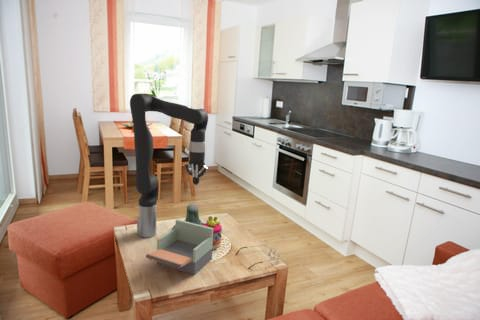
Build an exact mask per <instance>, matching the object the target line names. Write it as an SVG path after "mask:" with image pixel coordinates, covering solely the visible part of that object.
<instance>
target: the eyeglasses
mask: <svg viewBox="0 0 480 320" xmlns="http://www.w3.org/2000/svg"><path fill="white" fill-rule="evenodd" d="M267 244H269V246H270V249H269V252H268V250H267ZM262 246H264V247H265V251H266V252H268V253H269V254H270V253H272V255H273V257H274V258H273V259H269V260H268V259H267V260H264V261H259V262H255V263H254V264H252V265H251V266H249V267H247V269H251V268H252V267H254V266H255V265H257V264H262V263H265V262H270V261H274V260H277V261H278V260H279V259H281V256H280V255H281V254H280V251H279V250H278V249H276V248H274V247H273V246H272V245H271V243H269V242H268V243H266V244H259V245H252V246H250V248H253V247H262ZM247 248H248V246H243V247H240V248H239V249H238V250H237V252H236V253H235V256H237V255H238V254H239V252H240V251H241V250H242V249H247ZM273 249H274V251H273ZM272 251H273V252H272ZM276 251H277V252H278V257H276ZM275 258H276V259H275Z"/></svg>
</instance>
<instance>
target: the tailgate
mask: <svg viewBox="0 0 480 320" xmlns="http://www.w3.org/2000/svg"><path fill="white" fill-rule="evenodd" d="M145 258H146V259H148V260H152V261H155V262H157V261H158V262H161V263H164V264H168V265H171V266H174V267H177V268H181V267H182V266H184V265H186V264H188V263H190V262H191V261H192V258H189V257H186V256H182V255H179V254H176V253H172V252H169V251H165V250H162V249H159V250H157V249H156V250H154V251H152V252H150V253H146V256H145Z"/></svg>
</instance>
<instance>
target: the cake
mask: <svg viewBox="0 0 480 320" xmlns="http://www.w3.org/2000/svg"><path fill="white" fill-rule="evenodd" d="M202 226H206V227H210V228H213V246H212V251H214V250H213V249H216V250H218V249H217V248H219V247H220V248H221V242H222V240H223V239H222V233H223V230H222V229H223V228H222V224H221V222H220V221H218V217H217V216H214V217H213V216H211V215H210V216H208V218H207V219H206V222H205V223H204V224H203V225H202ZM220 248H219V249H220Z"/></svg>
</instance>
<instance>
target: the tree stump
mask: <svg viewBox="0 0 480 320" xmlns="http://www.w3.org/2000/svg"><path fill="white" fill-rule="evenodd" d="M185 214H186V216H185V219H184V221H186V222H190V223H194V224H198V225H203V224H205V223H204V222H202V221H201V219H200V216H199V208H198V206H197V205H196V204H189V205H187V206H186V213H185ZM175 228H176V223H175V224H174V225H173V229H175Z"/></svg>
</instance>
